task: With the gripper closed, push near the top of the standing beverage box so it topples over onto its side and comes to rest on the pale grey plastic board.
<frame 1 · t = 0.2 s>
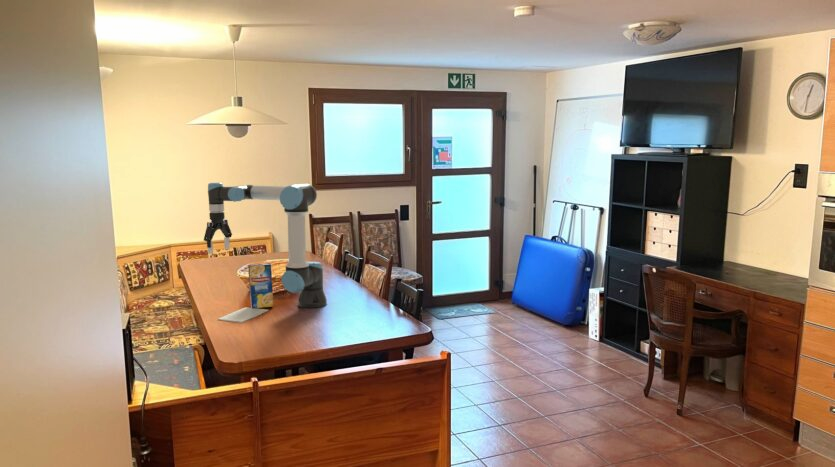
hand: (219, 251, 314), 28 cm above the table, tool pointing down, fingers open, 13 cm apart
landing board: (243, 315, 293), on the table
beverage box: (261, 306, 308), on the table, touching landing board
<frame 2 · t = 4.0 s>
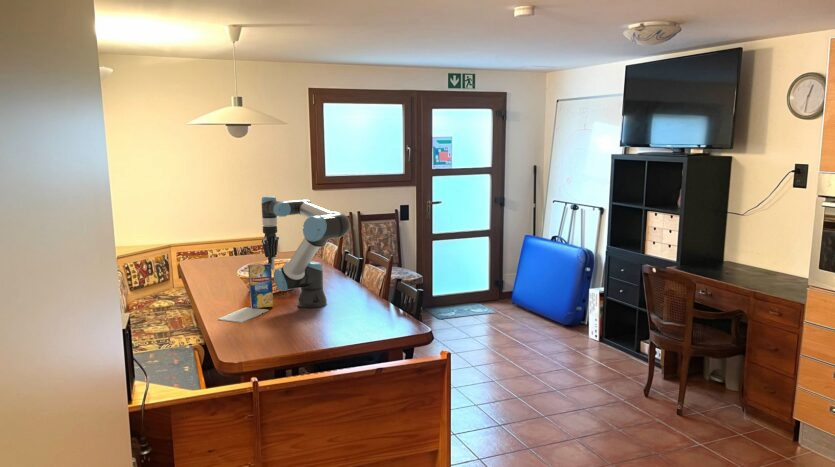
hand: (271, 269, 315), 18 cm above the table, tool pointing down, fingers closed
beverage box: (261, 306, 308), on the table, touching gripper, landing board
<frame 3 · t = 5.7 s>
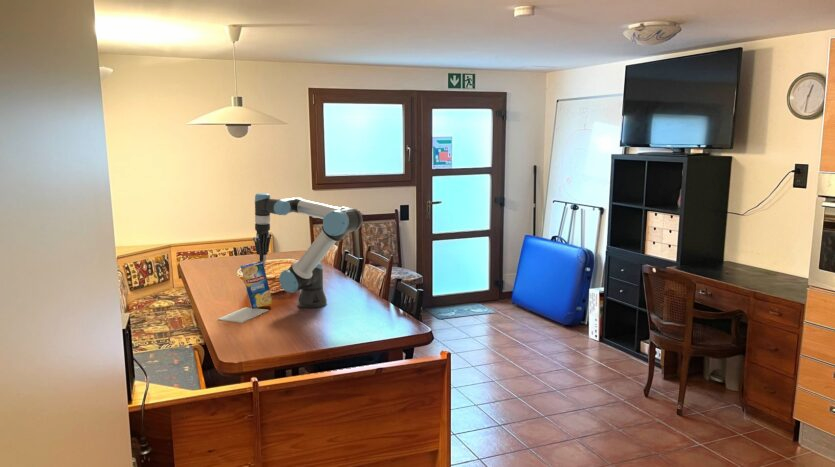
hand: (262, 266, 310), 21 cm above the table, tool pointing down, fingers closed
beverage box: (261, 304, 308), point 1 cm above the table, touching gripper, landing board
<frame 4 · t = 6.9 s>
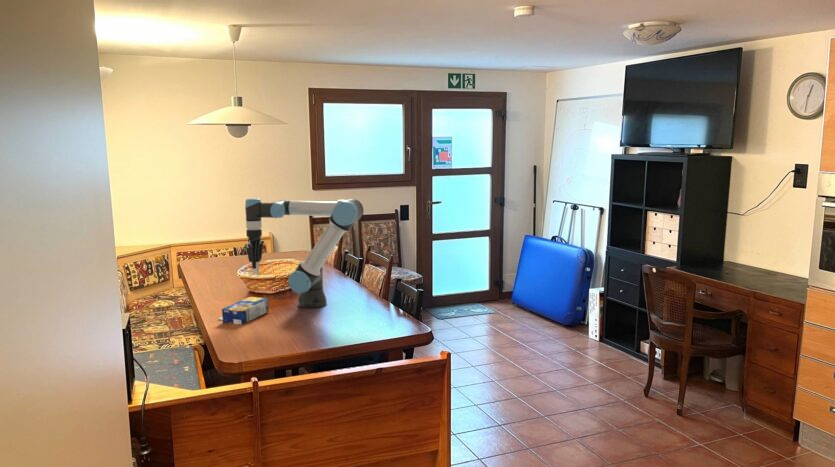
hand: (255, 274, 302), 18 cm above the table, tool pointing down, fingers closed
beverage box: (259, 304, 299), point 4 cm above the table, touching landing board
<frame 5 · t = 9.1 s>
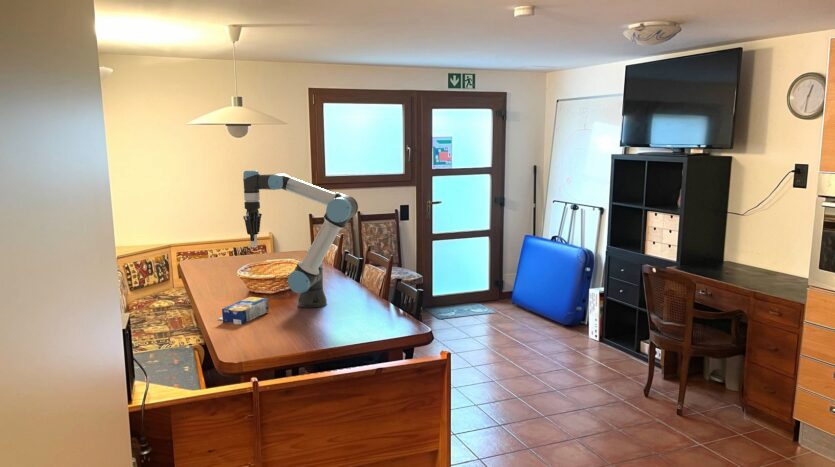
hand: (254, 247, 300), 33 cm above the table, tool pointing down, fingers closed
nothing on the table moved.
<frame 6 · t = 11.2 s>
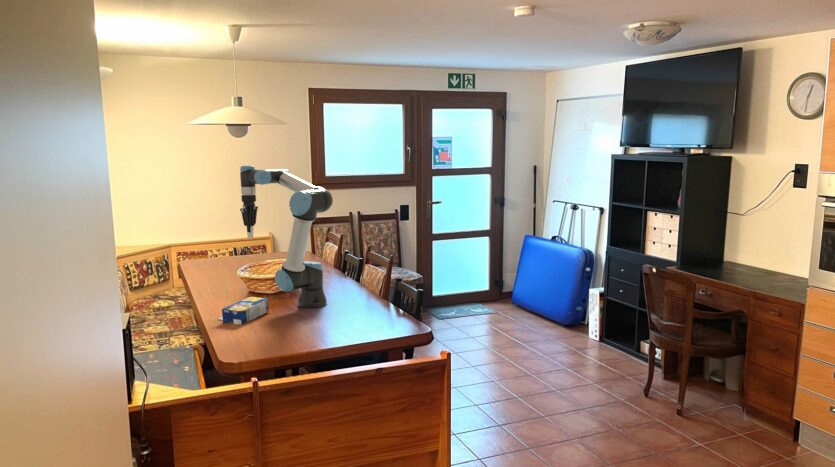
hand: (250, 237, 319), 34 cm above the table, tool pointing down, fingers closed
nothing on the table moved.
at the end: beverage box tilted 92°; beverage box touching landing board, table; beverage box inside the target area (5.0 cm from its centre), point 4.0 cm above the table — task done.
